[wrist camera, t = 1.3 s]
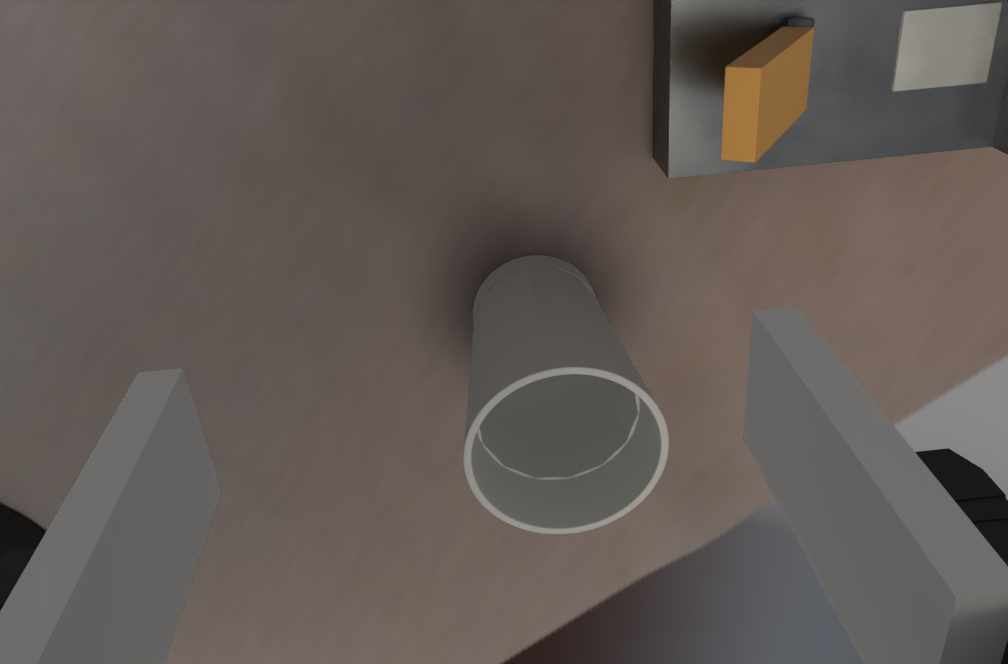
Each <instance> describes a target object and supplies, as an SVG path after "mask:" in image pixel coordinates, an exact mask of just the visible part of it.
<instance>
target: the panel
mask: <svg viewBox="0 0 1008 664" xmlns="http://www.w3.org/2000/svg"><path fill="white" fill-rule="evenodd" d="M797 17H810V18H814V19H815V24H814V35H813V45H812V56H811V66H810V77H809V87H808V98H807V108H806V112H804V113H802V114H801V115H800V117H799V118H798V119H797V120H796V121H795V122H794V123H793V124H792V125H791V126H790V127H789V128H788V129H787V130H786V131H785V132H784V133H783V134H782V135H781V136H780V137H779V138H778V139H777V140H776V141H775V142H774V144H773V145H772V146H771V147H770V148H769V149H768V150H767V151H766V152H765V153H764V154H763V155H762V156H761V157H760V158H759V159H758V160H757V161H756V162H755V163H753V162H742V161H732V160H722V159H721V152H722V131H723V110H724V89H725V68H726V66H727V65H729V64H730V63H732V62H733V61H735V60H736V59H737V58H739V57H740V56H742V55H743V54H745V53H746V52H747V51H749V50H750V49H752V48H753V47H754V46H756V45H757V44H759V43H760V42H762V41H763V40H764V39H766V38H767V37H769V36H770V35H771V34H773V33H774V32H776V31H777V30H779V29H780V28H781V27H783V26H784V27H788V19H791V18H797ZM983 147H994V148H996V149H998V150H1000V151H1002V152H1004V153H1006V154H1008V0H654V88H653V158H654V160H655V161H656V163H657V164H658V165H659V167H660V168H661V169H662V171H663V172H664V173H665V175H666V176H667V178H668V179H670V178H680V177H690V176H700V175H710V174H720V173H730V172H740V171H751V170H761V169H771V168H781V167H791V166H801V165H811V164H821V163H831V162H841V161H851V160H862V159H872V158H882V157H892V156H902V155H912V154H922V153H932V152H942V151H952V150H962V149H973V148H983Z"/></svg>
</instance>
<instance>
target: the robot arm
mask: <svg viewBox="0 0 1008 664" xmlns="http://www.w3.org/2000/svg"><path fill="white" fill-rule="evenodd" d="M743 439H744V441H745V443H746V444H747V446H748V448H749V450H750V452H751V454H752V456H753V458H754V459H755V461H756V463H757V465H758V467H759V469H760V471H761V473H762V474H763V476H764V478H765V480H766V482H767V484H768V486H769V487H770V489H771V491H772V493H773V495H774V497H775V499H776V501H777V502H778V504H779V506H780V508H781V510H782V512H783V514H784V516H785V517H786V519H787V521H788V523H789V525H790V527H791V528H792V531H793V532H794V534H795V536H796V538H797V540H798V542H799V543H800V545H801V547H802V549H803V551H804V553H805V555H806V557H807V559H808V560H809V562H810V564H811V566H812V568H813V570H814V571H815V573H816V575H817V577H818V579H819V581H820V583H821V585H822V587H823V589H824V590H825V592H826V594H827V596H828V598H829V600H830V602H831V604H832V605H833V607H834V609H835V611H836V613H837V615H838V617H839V618H840V620H841V622H842V624H843V626H844V627H845V630H846V632H847V633H848V635H849V637H850V639H851V641H852V643H853V645H854V647H855V648H856V650H857V652H858V654H859V656H860V658H861V659H862V661H863V663H864V664H1008V500H1006V497H1005V496H1006V495H1005V494H1004V493H1003V492H1002V490H1001V489H1000V488H999V487H998V486H997V485H996V484H995V483H994V482H993V480H992V479H991V478H990V477H989V476H988V475H987V474H986V473H985V472H984V471H983V469H981V468H980V467H978V466H976V465H975V464H973V463H971V462H970V461H968V460H967V459H965V458H963V457H962V456H960V455H958V454H956V453H955V452H953V451H952V450H950V449H940V450H931V451H922V452H914V450H913V449H912V448H911V447H910V445H909V444H908V443H907V442H906V440H905V439H904V438H903V437H902V435H901V434H900V433H899V432H898V431H897V430H896V428H895V427H894V426H893V424H892V423H891V422H890V421H889V419H888V418H887V417H886V416H885V415H884V413H883V412H882V411H881V410H880V408H879V407H878V406H877V405H876V403H875V402H874V401H873V400H872V399H871V397H870V396H869V395H868V394H867V392H866V391H865V390H864V389H863V387H862V386H861V385H860V384H859V383H858V381H857V380H856V379H855V378H854V376H853V375H852V374H851V373H850V371H849V370H848V369H847V368H846V367H845V365H844V364H843V363H842V362H841V360H840V359H839V358H838V357H837V355H836V354H835V353H834V352H833V351H832V349H831V348H830V347H829V346H828V344H827V343H826V342H825V341H824V339H823V338H822V337H821V336H820V335H819V333H818V332H817V331H816V330H815V328H814V327H813V326H812V325H811V323H810V322H809V321H808V320H807V319H806V317H805V316H804V315H803V314H802V312H801V311H800V310H799V309H798V307H797V306H790V307H780V308H771V309H761V310H753V316H752V329H751V342H750V356H749V369H748V382H747V396H746V409H745V422H744V436H743ZM220 496H221V491H220V487H219V484H218V481H217V478H216V474H215V471H214V468H213V464H212V461H211V458H210V455H209V451H208V448H207V445H206V442H205V438H204V435H203V432H202V428H201V425H200V422H199V419H198V415H197V412H196V409H195V405H194V402H193V399H192V396H191V392H190V389H189V386H188V382H187V379H186V376H185V373H184V369H183V368H180V369H170V370H160V371H150V372H140V373H138V374H137V376H136V377H135V379H134V381H133V383H132V384H131V386H130V388H129V389H128V391H127V393H126V395H125V396H124V398H123V400H122V402H121V403H120V405H119V407H118V408H117V410H116V412H115V414H114V415H113V417H112V419H111V421H110V422H109V424H108V426H107V427H106V429H105V431H104V433H103V434H102V436H101V438H100V440H99V441H98V443H97V445H96V447H95V448H94V450H93V452H92V453H91V455H90V457H89V459H88V460H87V462H86V464H85V466H84V467H83V469H82V471H81V472H80V474H79V476H78V478H77V479H76V481H75V483H74V485H73V486H72V488H71V490H70V491H69V493H68V495H67V497H66V498H65V500H64V502H63V504H62V505H61V507H60V509H59V511H58V512H57V514H56V516H55V517H54V519H53V521H52V523H51V524H50V526H49V528H48V530H47V531H46V533H44V532H42V531H41V530H40V529H39V528H37V527H36V526H34V525H33V524H32V523H30V522H29V521H27V520H25V519H24V518H22V517H21V516H19V515H17V514H15V513H13V512H11V511H9V510H7V509H5V508H3V507H1V506H0V664H164V662H165V659H166V656H167V653H168V650H169V647H170V644H171V641H172V638H173V635H174V633H175V630H176V627H177V624H178V621H179V618H180V615H181V612H182V609H183V606H184V603H185V600H186V597H187V594H188V591H189V588H190V585H191V582H192V579H193V576H194V573H195V570H196V567H197V564H198V561H199V558H200V555H201V552H202V549H203V546H204V543H205V540H206V537H207V534H208V531H209V529H210V526H211V523H212V520H213V517H214V514H215V511H216V508H217V505H218V502H219V499H220Z"/></svg>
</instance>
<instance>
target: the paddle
mask: <svg viewBox="0 0 1008 664" xmlns="http://www.w3.org/2000/svg"><path fill="white" fill-rule="evenodd" d="M814 24H815V19H814V18H810V17H797V18H791V19H788V27H784V26H783V27H781V28H780V29H779V30H777V31H776V32H774V33H773V34H771V35H770V36H769V37H767V38H766V39H764V40H763V41H762V42H760V43H759V44H757V45H756V46H754V47H753V48H752V49H750V50H749V51H747V52H746V53H745V54H743V55H742V56H740V57H739V58H737V59H736V60H735V61H733V62H732V63H730V64H729V65H727V66H726V68H725V89H724V110H723V131H722V152H721V159H722V160H732V161H742V162H753V163H755V162H756V161H757V160H758V159H759V158H760V157H761V156H762V155H763V154H764V153H765V152H766V151H767V150H768V149H769V148H770V147H771V146H772V145H773V144H774V142H775V141H776V140H777V139H778V138H779V137H780V136H781V135H782V134H783V133H784V132H785V131H786V130H787V129H788V128H789V127H790V126H791V125H792V124H793V123H794V122H795V121H796V120H797V119H798V118H799V117H800V115H801V114H802V113H804V112H806V108H807V98H808V87H809V77H810V66H811V56H812V45H813V35H814Z"/></svg>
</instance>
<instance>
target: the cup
mask: <svg viewBox="0 0 1008 664" xmlns="http://www.w3.org/2000/svg"><path fill="white" fill-rule="evenodd" d="M473 324H474V328H473V342H472V356H471V370H470V384H469V398H468V410H467V420H466V431H465V441H464V452H463V463H464V470H465V475H466V478H467V481H468V483H469V486H470V488H471V490H472V491H473V493H474V495H475V496H476V498H477V499H478V500H479V501H480V503H481V504H482V505H483V506H484V507H485V508H486V509H487V510H488V511H490V512H491V513H492V514H493V515H495V516H496V517H498V518H499V519H501V520H503V521H504V522H506V523H508V524H510V525H513V526H515V527H518V528H521V529H524V530H528V531H532V532H537V533H545V534H570V533H577V532H583V531H587V530H591V529H594V528H598V527H601V526H603V525H606V524H608V523H610V522H612V521H614V520H616V519H618V518H620V517H622V516H623V515H625V514H627V513H628V512H629V511H631V510H632V509H634V508H635V507H636V506H637V505H638V504H639V503H641V502H642V501H643V500H644V499H645V498H646V497H647V495H648V494H649V493H650V492H651V491H652V489H653V488H654V486H655V485H656V483H657V482H658V480H659V478H660V476H661V474H662V472H663V470H664V467H665V464H666V461H667V457H668V449H669V437H668V430H667V425H666V422H665V419H664V417H663V414H662V412H661V411H660V409H659V407H658V405H657V404H656V402H655V400H654V399H653V397H652V395H651V394H650V392H649V390H648V388H647V387H646V385H645V383H644V382H643V380H642V378H641V377H640V375H639V373H638V372H637V370H636V368H635V367H634V365H633V363H632V362H631V360H630V358H629V356H628V354H627V353H626V351H625V349H624V347H623V345H622V344H621V342H620V340H619V338H618V336H617V335H616V333H615V331H614V329H613V328H612V326H611V324H610V322H609V320H608V319H607V317H606V315H605V313H604V311H603V310H602V308H601V306H600V304H599V302H598V301H597V298H596V296H595V293H594V290H593V288H592V286H591V284H590V282H589V280H588V279H587V278H586V276H585V275H584V274H583V273H582V272H581V271H580V270H579V269H578V268H576V267H575V266H574V265H572V264H570V263H569V262H567V261H565V260H562V259H559V258H556V257H552V256H546V255H530V256H524V257H520V258H516V259H513V260H511V261H509V262H507V263H505V264H503V265H501V266H500V267H498V268H497V269H495V270H494V271H493V272H492V273H491V274H490V275H489V276H488V277H487V278H486V279H485V280H484V282H483V283H482V285H481V286H480V288H479V290H478V292H477V294H476V297H475V300H474V305H473Z"/></svg>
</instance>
